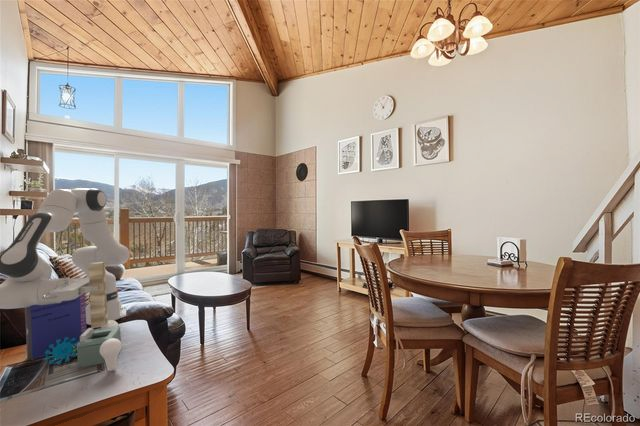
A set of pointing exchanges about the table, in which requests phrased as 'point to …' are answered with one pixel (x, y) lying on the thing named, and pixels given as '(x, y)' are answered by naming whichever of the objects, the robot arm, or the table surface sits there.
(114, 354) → the lightbulb
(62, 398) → the table surface
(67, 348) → the gear
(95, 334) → the lid
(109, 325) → the penguin figurine
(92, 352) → the green open box
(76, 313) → the cereal box
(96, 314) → the beige tall ridged block
